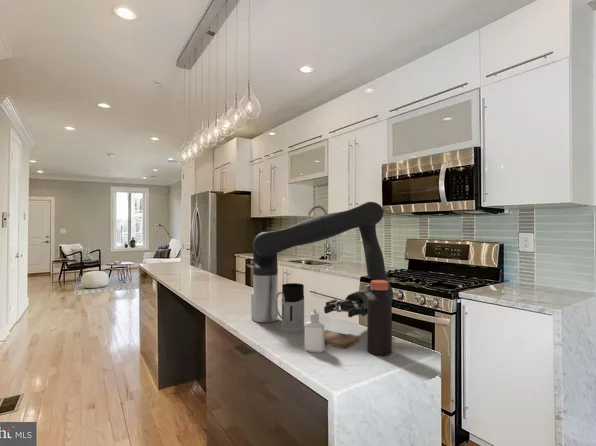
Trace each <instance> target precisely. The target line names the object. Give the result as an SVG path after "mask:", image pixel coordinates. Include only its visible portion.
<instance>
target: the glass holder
mask: <svg viewBox="0 0 596 446" xmlns="http://www.w3.org/2000/svg"><path fill="white" fill-rule="evenodd" d="M281 286H282V287H281V289H282V290H281V291H282V292H281V291H280V292H279V291H278V293H277V295H276V298H275V306H276V311H277V314H278V318H280V319H281V324H280V325H281V326H280V328H279V329H280V330H281V331H283V332H287V333H297V332H303V331H305V292H304V291H305V290H304V289H305V286H304V284H303V283H296V282H295V283H293V282H292V283H290V282H289V283H283V284H282V285H281ZM280 294H281V313H280V311H279V307H278V306H277V298H279V296H280Z"/></svg>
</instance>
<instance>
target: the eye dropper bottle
mask: <svg viewBox="0 0 596 446" xmlns="http://www.w3.org/2000/svg"><path fill="white" fill-rule="evenodd" d="M319 316H320V313H319V312H317V309H316V307H314V308H313V309H312V312H310V316H309V318H310V319H309V321H307V322H304V326H305V330H304V351H306V352H309V353H317V354H318V353H320V354H321V353H323V352H324V350H325V345H326V344H325V338H324V331H325V324H324V323H323V322H321V321H320V319H319V318H320V317H319Z"/></svg>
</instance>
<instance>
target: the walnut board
mask: <svg viewBox="0 0 596 446" xmlns="http://www.w3.org/2000/svg"><path fill="white" fill-rule="evenodd" d="M324 338H325V345H328V346H332V347H337V348H341V349H347V348H349V347H350V346H352V345H354V344H355V343H357V342H358V341H359V340H360V337H359V336H354V335H351V334H346V333H342V332H337V331H333V330H328V329H324Z"/></svg>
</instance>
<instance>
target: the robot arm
mask: <svg viewBox="0 0 596 446" xmlns="http://www.w3.org/2000/svg"><path fill="white" fill-rule="evenodd" d="M383 217H384V209H383V206H382V205H380V204H379V203H377V202H376V201H367V202H364V203H362V204H360V205H358V206H355V207H352V208H350V209H348V210H342V211H337V212H332V213H326V214H323V215H319V216H315V217H312V218H311V217H310V218H309V219H308V218H307V219H306V220H303V221H300V222H298V223H297V224H296V223H295V224H294V225H292V226H289V227H286V228H284V229H283V228H282V229H278V230H274V231H261V232H260V233H258V234H257V235H255V237H254V240H253V242H252V243H253V246H252V247H253V250H252V251H253V253H252V254H253V256H252V257H253V258H252V260H253V263H252V264H253V269H252V271H253V276H252V277H253V281H252V282H253V283H252V285H253V288H252V289H253V293H251V294H250V295H251V298H250V299H251V301H250V303H251V304H250V305H251V306H250V307H251V308H250V309H251V310H250V311H251V313H250V314H251V315H250V316H251V320H253V321H254V322H256V323H272V322H276V321H278V318H279V316H278V314H277V311H276V306H275V298H276V295H277V293H279V290H278V289H279V284H278V283H279V280H278V279H279V276H278V275H279V273H278V272H279V271H278V270H279V269H278V253H280V252H283V251H285V250H288V249H291V248H294V247H298V246H304V245H309V244H313V243H317V242H322V241H324V240H327V239H331V238H333V237H335V236H338V235H341V234H343V233H344V232H347V231H349V230H353V229H357V228H358V229H359V233H360V237H361V242H362V247H363V251H364V257H365V258H364V259H365V266H366V274H367V278H368V279H371V280H384V281H388V291H387V295H388V296H389V297H390V298H391V299H392V300H393V299H394V291H393V288H392V286H391V283H390V281H389V279H388V276H387V272H386V267H385V265H386V264H385V260H384V255H383V251H382V249H381V246H380V243H379V240H378V235H377V229H376V225H378V223H380V222H381V221H382V219H383ZM371 294H372V291H371V284H369V285H368V286H366V287H365V288H364V289H362V290H357V291H355V292H352V293H350V294H348V295H347V296H346V297H345V299H343V300H338V299H337V298H336V299H331V300H330V301H326V302H325V306H323V308H324V309H323V311H324V314H329V313H332V312H337V313H347V317H348V318H352V317H355V316H357V317H358V316H360V315H361V316H362V317H365V316H367V299H368V297H369V296H370V295H371ZM278 298H279V297H278ZM278 298H277V306H278V305H279V304H278V303H279V301H278Z"/></svg>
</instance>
